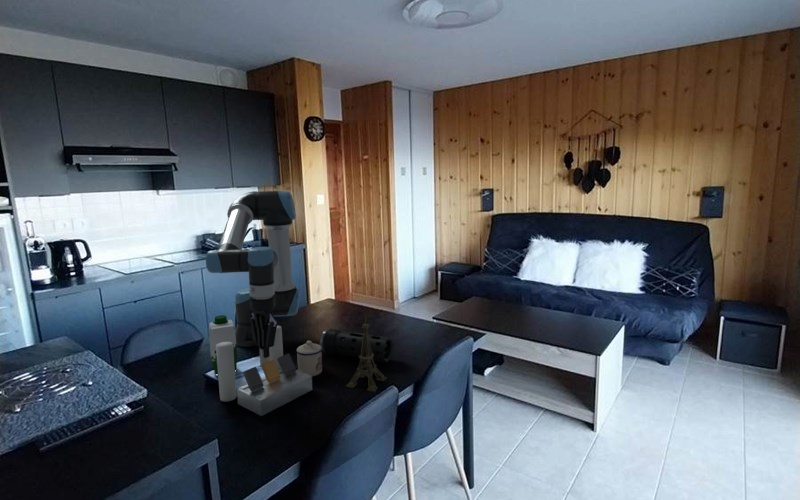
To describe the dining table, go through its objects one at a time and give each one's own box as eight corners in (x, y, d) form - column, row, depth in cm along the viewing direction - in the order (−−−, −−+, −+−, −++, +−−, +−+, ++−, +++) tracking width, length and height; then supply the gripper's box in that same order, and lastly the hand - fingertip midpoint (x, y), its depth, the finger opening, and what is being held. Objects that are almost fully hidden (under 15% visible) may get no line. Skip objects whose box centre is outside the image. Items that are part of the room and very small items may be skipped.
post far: (266, 376, 154) (263, 328, 152) (278, 371, 158) (275, 324, 155) (275, 380, 152) (272, 331, 149) (287, 375, 155) (284, 327, 152)
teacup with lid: (321, 376, 154) (320, 345, 152) (295, 378, 153) (294, 346, 152) (324, 362, 166) (323, 333, 164) (300, 363, 165) (299, 334, 163)
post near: (217, 398, 139) (212, 345, 136) (231, 392, 143) (227, 340, 140) (225, 403, 137) (221, 348, 134) (239, 396, 140) (236, 343, 137)
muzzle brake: (383, 368, 161) (383, 342, 159) (318, 357, 171) (317, 332, 170) (393, 358, 170) (393, 333, 168) (331, 348, 180) (330, 324, 178)
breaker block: (237, 403, 136) (236, 388, 135) (289, 380, 152) (288, 365, 151) (261, 416, 129) (260, 399, 128) (312, 389, 145) (311, 374, 144)
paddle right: (285, 377, 144) (277, 358, 145) (294, 372, 147) (286, 354, 148) (287, 375, 143) (279, 357, 144) (297, 371, 146) (289, 353, 147)
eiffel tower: (346, 386, 147) (344, 315, 143) (359, 373, 157) (358, 306, 153) (374, 391, 143) (373, 319, 139) (386, 378, 153) (385, 309, 149)
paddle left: (251, 392, 133) (242, 372, 135) (262, 387, 137) (253, 368, 138) (253, 390, 132) (244, 371, 134) (264, 385, 136) (256, 366, 137)
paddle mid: (268, 384, 138) (260, 365, 140) (278, 379, 142) (271, 361, 143) (271, 383, 138) (263, 363, 139) (281, 378, 141) (273, 359, 142)
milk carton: (236, 363, 165) (232, 313, 162) (239, 373, 158) (235, 320, 154) (211, 368, 161) (207, 317, 158) (213, 378, 154) (208, 324, 150)
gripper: (240, 295, 138) (243, 364, 142) (264, 302, 131) (267, 375, 135) (260, 290, 144) (262, 357, 148) (284, 297, 137) (286, 367, 141)
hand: (264, 366), depth 142 cm, fingers closed
